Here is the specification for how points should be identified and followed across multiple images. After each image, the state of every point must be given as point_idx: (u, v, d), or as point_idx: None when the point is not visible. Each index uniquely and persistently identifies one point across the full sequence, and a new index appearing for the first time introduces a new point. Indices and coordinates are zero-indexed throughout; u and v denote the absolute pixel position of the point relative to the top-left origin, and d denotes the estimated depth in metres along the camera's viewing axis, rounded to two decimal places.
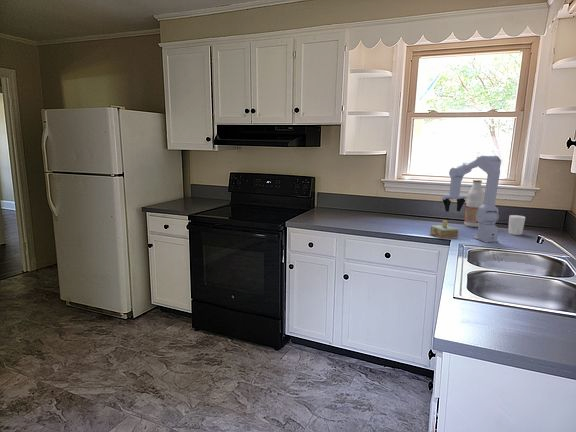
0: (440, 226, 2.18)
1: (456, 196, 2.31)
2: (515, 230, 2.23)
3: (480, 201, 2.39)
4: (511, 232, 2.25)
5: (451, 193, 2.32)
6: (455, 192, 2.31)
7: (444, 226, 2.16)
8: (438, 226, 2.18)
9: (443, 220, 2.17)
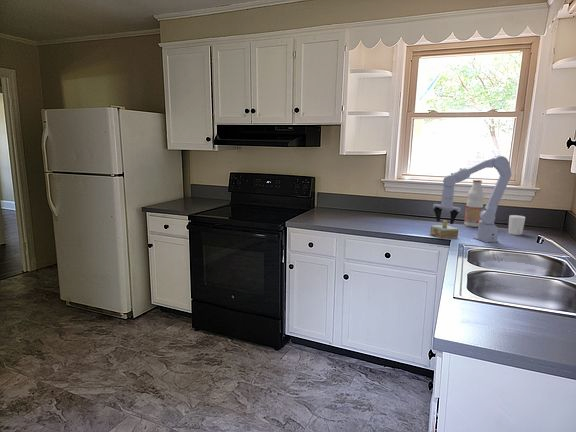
0: (440, 226, 2.18)
1: (443, 206, 2.13)
2: (515, 230, 2.23)
3: (480, 201, 2.39)
4: (511, 232, 2.25)
5: None
6: (442, 201, 2.13)
7: (444, 226, 2.16)
8: (438, 226, 2.18)
9: (443, 220, 2.17)
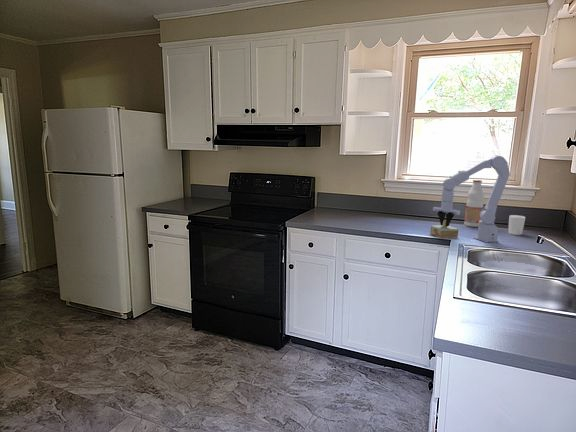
0: (440, 226, 2.18)
1: (442, 209, 2.13)
2: (515, 230, 2.23)
3: (480, 201, 2.39)
4: (511, 232, 2.25)
5: None
6: (442, 204, 2.14)
7: (444, 226, 2.16)
8: (438, 226, 2.18)
9: (443, 220, 2.17)
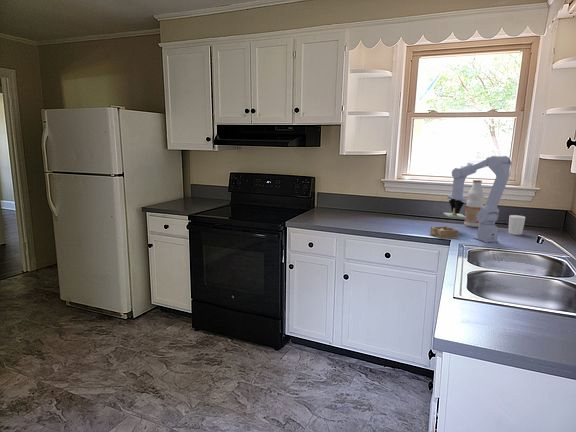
0: (451, 213, 2.31)
1: (452, 196, 2.26)
2: (515, 230, 2.23)
3: (480, 201, 2.39)
4: (511, 232, 2.25)
5: None
6: (452, 192, 2.27)
7: (453, 213, 2.28)
8: (449, 213, 2.31)
9: (454, 208, 2.29)
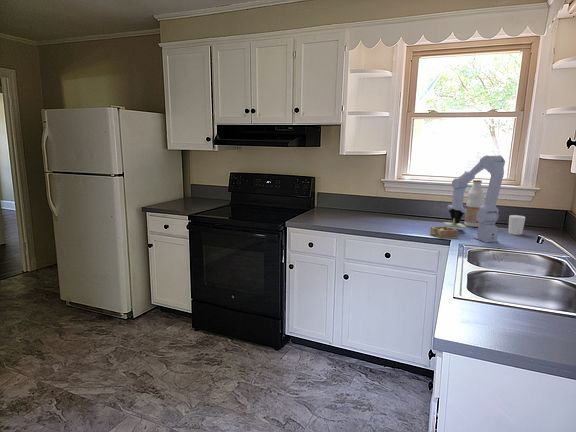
0: (451, 223, 2.33)
1: (452, 206, 2.29)
2: (515, 230, 2.23)
3: (480, 201, 2.39)
4: (511, 232, 2.25)
5: None
6: (452, 202, 2.29)
7: (453, 223, 2.30)
8: (449, 223, 2.33)
9: (454, 218, 2.31)
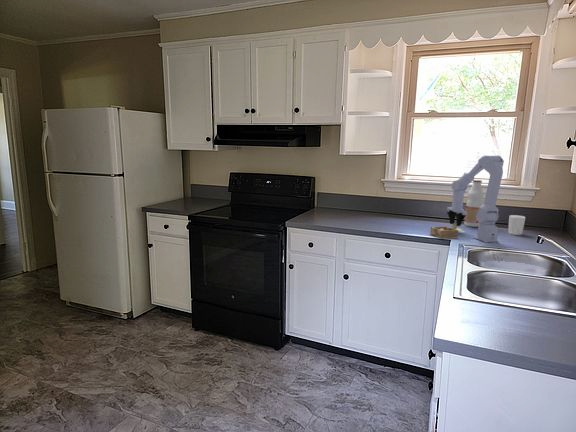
0: None
1: (451, 209, 2.29)
2: (515, 230, 2.23)
3: (480, 201, 2.39)
4: (511, 232, 2.25)
5: None
6: (452, 204, 2.30)
7: None
8: None
9: None
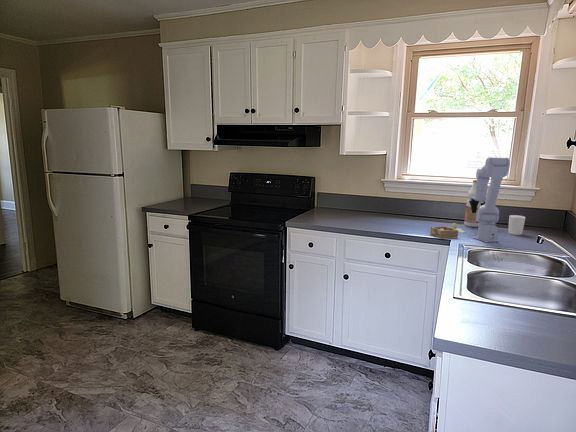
0: None
1: (475, 197, 2.25)
2: (515, 230, 2.23)
3: None
4: (511, 232, 2.25)
5: None
6: (475, 193, 2.25)
7: None
8: None
9: None
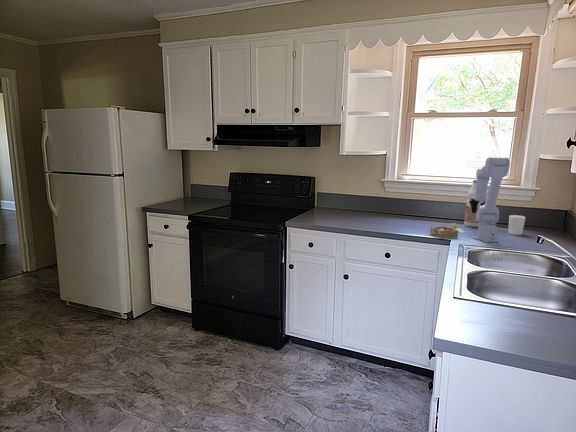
0: None
1: (475, 197, 2.25)
2: (515, 230, 2.23)
3: None
4: (511, 232, 2.25)
5: None
6: (475, 193, 2.25)
7: None
8: None
9: None
